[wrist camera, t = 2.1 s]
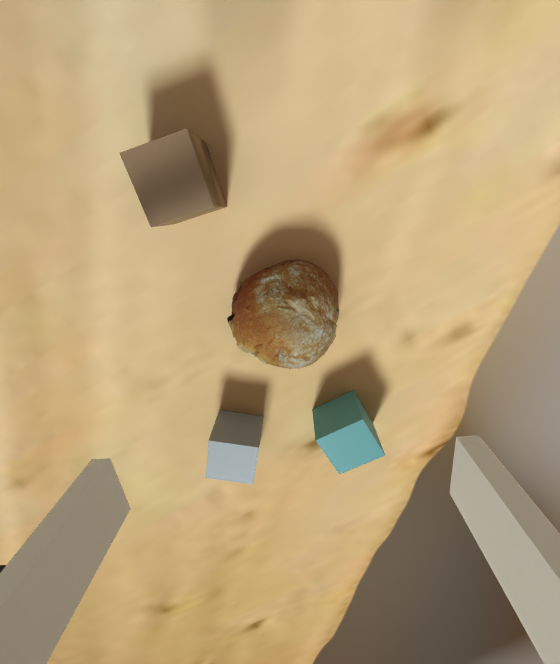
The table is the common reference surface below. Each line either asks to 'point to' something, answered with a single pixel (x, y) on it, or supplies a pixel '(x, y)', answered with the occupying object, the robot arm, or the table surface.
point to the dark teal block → (346, 433)
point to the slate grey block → (234, 447)
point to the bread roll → (286, 314)
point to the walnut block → (174, 178)
